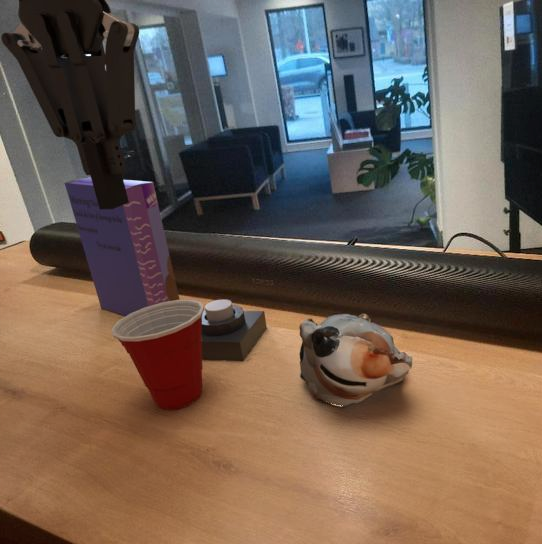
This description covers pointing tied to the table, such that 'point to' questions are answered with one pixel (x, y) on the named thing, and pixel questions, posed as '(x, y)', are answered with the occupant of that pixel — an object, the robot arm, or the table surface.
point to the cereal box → (124, 247)
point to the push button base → (232, 335)
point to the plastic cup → (166, 350)
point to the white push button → (219, 310)
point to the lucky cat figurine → (349, 358)
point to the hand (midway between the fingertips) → (114, 205)
